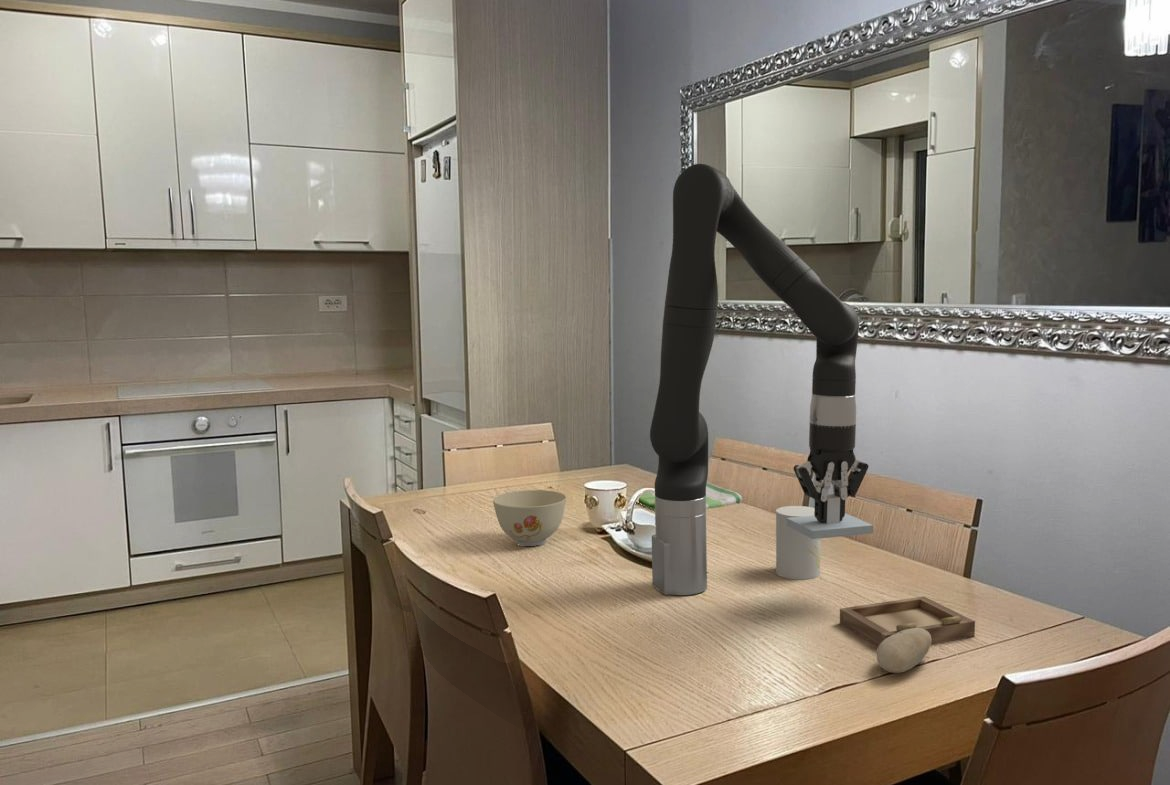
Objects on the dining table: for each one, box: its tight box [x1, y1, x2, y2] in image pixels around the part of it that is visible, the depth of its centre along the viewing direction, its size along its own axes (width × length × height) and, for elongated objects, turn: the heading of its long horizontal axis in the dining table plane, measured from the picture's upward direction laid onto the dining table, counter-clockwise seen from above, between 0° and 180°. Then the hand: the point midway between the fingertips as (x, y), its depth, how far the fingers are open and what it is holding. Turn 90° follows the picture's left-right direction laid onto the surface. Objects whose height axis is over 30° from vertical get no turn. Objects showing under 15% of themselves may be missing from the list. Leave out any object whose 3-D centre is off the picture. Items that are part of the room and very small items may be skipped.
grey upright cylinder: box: [775, 505, 821, 581], centre depth 168 cm, size 8×8×12 cm
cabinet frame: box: [839, 595, 976, 648], centre depth 140 cm, size 16×12×3 cm
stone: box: [876, 628, 932, 674], centre depth 127 cm, size 6×6×12 cm
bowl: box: [492, 489, 567, 547], centre depth 193 cm, size 16×16×10 cm
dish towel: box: [638, 481, 743, 511], centre depth 227 cm, size 17×23×4 cm
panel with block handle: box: [787, 494, 874, 540], centre depth 151 cm, size 12×8×6 cm
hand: (829, 520), depth 151 cm, fingers closed on panel with block handle, 2 cm apart
